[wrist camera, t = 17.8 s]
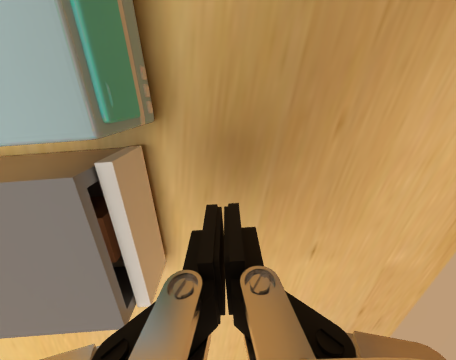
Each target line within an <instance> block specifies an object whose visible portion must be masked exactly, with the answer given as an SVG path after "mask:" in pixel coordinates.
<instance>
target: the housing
mask: <svg viewBox="0 0 456 360" xmlns="http://www.w3.org/2000/svg"><path fill="white" fill-rule="evenodd" d="M125 148H126V147H125ZM122 149H124V148H111V149H97V150H83V151H69V152H56V153H42V154H28V155H14V156H0V338H13V337H26V336H39V335H52V334H65V333H78V332H91V331H104V330H117V329H120V328H122V327H123V326H124V325H126V324H127V323H128V322H129V319H130V317H131V315H132V312H133V310H134V307H135V305H136V300H135V296H134V293H133V290H132V287H131V283H130V280H129V277H128V273H127V270H126V267H125V266H122V267H113V266H112V263H111V260H110V257H109V254H108V251H107V248H106V245H105V242H104V239H103V236H102V233H101V230H100V227H99V224H98V220H97V217H96V214H95V211H94V208H93V205H92V202H91V199H90V196H89V193H88V190H87V188H88V187H89V186H91V185H92V184H94V183H95V182H97V181H98V180H99V178H98V175H97V171H96V168H95V165H94V163H95V162H97V161H99V160H101V159H103V158H106V157H108V156H110V155H112V154H114V153H116V152H118V151H120V150H122Z"/></svg>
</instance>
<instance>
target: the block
mask: <svg viewBox="0 0 456 360" xmlns="http://www.w3.org/2000/svg"><path fill="white" fill-rule="evenodd" d="M90 199H91V202H92V205H93V208H94V211H95V214H96V217H97V220H98V224H99V227H100V230H101V233H102V236H103V239H104V242H105V245H106V248H107V251H108V254H109V257H110V260H111V263H114V262H117V260H118V259H119V257H120V256H121V250H120V247H119V244H118V240H117V237H116V234H115V231H114V227H113V224H112V221H111V217H110V214H109V211H108V208H107V204H106V201H105V198H104V196H100V197H90Z"/></svg>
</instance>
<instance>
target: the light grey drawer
mask: <svg viewBox="0 0 456 360" xmlns="http://www.w3.org/2000/svg"><path fill="white" fill-rule="evenodd" d="M94 165H95V168H96V171H97V175H98V178H99V180H98V181H97V182H95V183H94V184H92V185H91V186H89V187H88V188H87V190H88V193H89V196H90V197H100V196H104V198H105V201H106V204H107V208H108V211H109V214H110V217H111V221H112V224H113V227H114V231H115V234H116V237H117V240H118V244H119V247H120V250H121V256H120V257H119V259H118V260H117V262H114V263H112V266H113V267H122V266H125V267H126V270H127V273H128V277H129V280H130V283H131V287H132V290H133V293H134V296H135V300H136V303H137V306H138V307H147V306H150V305H152V302H153V299H154V297H155V294H156V291H157V288H158V285H159V282H160V279H161V276H162V273H163V270H164V267H165V264H166V259H165V254H164V249H163V245H162V240H161V235H160V231H159V226H158V221H157V217H156V212H155V207H154V203H153V198H152V193H151V189H150V184H149V179H148V175H147V170H146V165H145V161H144V156H143V151H142V147H141V146H128V147H126V148H124V149H122V150H120V151H118V152H116V153H114V154H112V155H110V156H108V157H106V158H103V159H101V160H99V161H97V162H95V163H94Z"/></svg>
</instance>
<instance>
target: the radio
mask: <svg viewBox="0 0 456 360" xmlns="http://www.w3.org/2000/svg"><path fill="white" fill-rule="evenodd" d="M153 121H154V114H153V108H152V102H151V97H150V92H149V86H148V81H147V75H146V70H145V65H144V59H143V54H142V49H141V43H140V38H139V32H138V27H137V22H136V16H135V11H134V5H133V0H0V147H1V146H14V145H28V144H41V143H55V142H68V141H82V140H93V139H99V138H102V137H106V136H109V135H112V134H115V133H118V132H122V131H125V130H128V129H131V128H135V127H138V126H141V125H144V124H147V123H151V122H153Z"/></svg>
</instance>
